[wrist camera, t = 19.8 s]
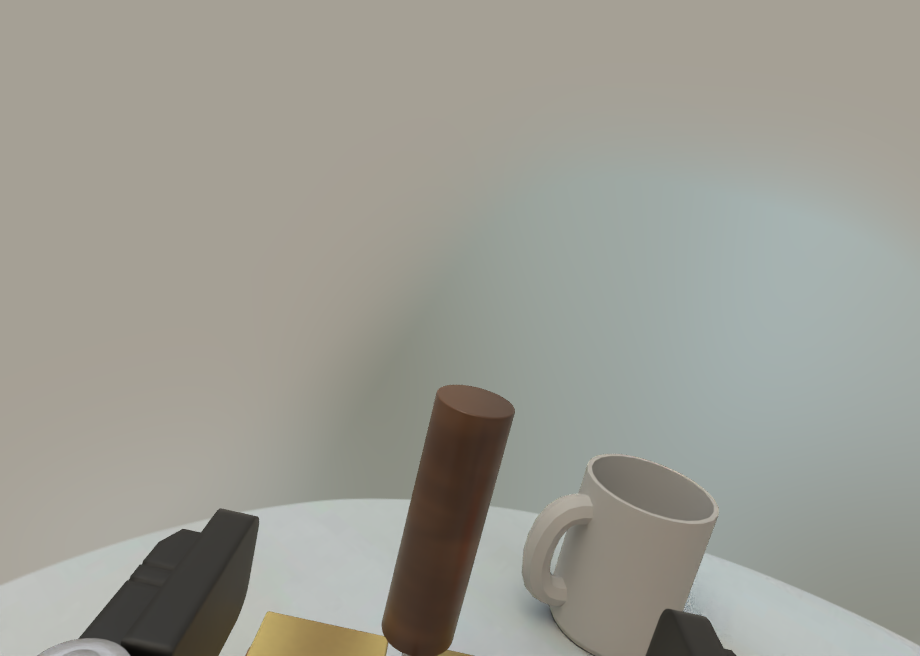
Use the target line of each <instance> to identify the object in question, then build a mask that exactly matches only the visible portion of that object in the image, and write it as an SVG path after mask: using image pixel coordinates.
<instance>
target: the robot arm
mask: <svg viewBox="0 0 920 656" xmlns="http://www.w3.org/2000/svg"><path fill="white" fill-rule="evenodd" d="M258 527H259V517H257V516H253V515H248V514H244V513H239V512H235V511H230V510H225V509H219V510H218V511H217V512H216V513H215V514H214V516H213V517H212V518H211V520H210V521H209V522H208V524H207V525H206V527H205V528H204V529H203V531H202V532H201V533H200V532H195V531H191V530H186V529H182V530H180V531H178V532H176V533H175V534H173V535H171V536H169V537H167V538H166V539H164V540H162V541H160V542H159V543H158V544H157V545H156V546H155V547H154V549H153V550H152V551H151V552H150V553H149V555H148V556H147V557H146V558H145V559H144V561H143V564H142V565H139V567H138V568H137V569H136V570H135V571H134V573H133V574H132V575H131V576H130V579H129V581H128V580H127V581H126V582H125V583H124V585H123V586H122V587H121V588H120V590H119V591H118V592H117V593H116V594H115V596H114V597H113V598H112V599H111V600H110V602H109V603H108V604H107V605H106V606H105V608H104V609H103V610H102V611H101V612H100V614H99V615H98V616H97V617H96V618H95V620H94V621H93V622H92V623H91V624H90V626H89V627H88V628H87V629H86V630H85V632H84V633H83V634H82V635H81V636H80V638H79V639H76V640H70V641H67V642H63V643H60V644H58V645H55V646H53V647H51V648H49V649H47V650H45V651H43V652H42V653H40V654H39V655H38V656H218V655H219V654H220V652H221V650H222V648H223V646H224V644H225V642H226V640H227V638H228V636H229V634H230V632H231V630H232V629H233V627H234V625H235V623H236V621H237V619H238V616H239V614H240V611H241V609H242V606H243V603H244V600H245V597H246V593H247V589H248V584H249V578H250V573H251V567H252V561H253V556H254V550H255V544H256V539H257V533H258ZM646 656H736V655H735V654H734V653H733V651H732V650H728V649H724V648H723V646H722V644H721V642H720V640H719V638H718V636H717V635H716V633H715V631H714V629H713V627H712V625H711V623H710V621H709V620H708V619H707V618H706V617H704V616H700V615H695V614H691V613H686V612H682V611H677V610H673V609H665V610H664V611H663V612H662V614H661V615H660V618H659V620H658V623H657V626H656V628H655V631H654V634H653V637H652V639H651V642H650V645H649V647H648V650H647V653H646Z"/></svg>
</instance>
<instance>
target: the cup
mask: <svg viewBox="0 0 920 656" xmlns="http://www.w3.org/2000/svg"><path fill="white" fill-rule="evenodd" d="M718 515H719V507H718V505H717V503H716V501H715V500H714V498H713V497H712V496H711V495H710V494H709V493H708V492H707V491H706V490H705V489H703V488H702V487H701V486H700V485H698V484H697V483H696V482H694V481H693V480H691V479H689V478H687V477H686V476H684V475H682V474H681V473H679V472H676V471H674V470H672V469H670V468H668V467H666V466H663V465H660V464H657V463H655V462H652V461H649V460H646V459H642V458H638V457H634V456H628V455H622V454H603V455H597V456H596V457H594V458H592V459H590V461H589V463H588V465H587V467H586V471H585V474H584V477H583V480H582V483H581V487H580V490H579V493H578V494H571V495H567V496H563V497H560V498H558V499H556V500H555V501H553V502H552V503H550V504H549V505H547V506H546V507H545V509H544V510H543V511H542V512H541V513H540V515H539V516H538V517H537V518H536V520H535V522H534V524H533V526H532V528H531V530H530V532H529V533H528V537H527V540H526V543H525V547H524V552H523V564H522V576H523V580H524V585H525V587H526V589H527V590H528V591H529V592H530V593H531V595H532V596H533V597H534V598H536V599H538V600H539V601H541V602H543V603H546V604H548V605H549V606H550V609H551V612H552V615H553V617H554V620H555V622H556V623H557V624H558V626H559V627H560V629H561V630H562V632H563V633H565V634H566V635H567V636H568V637H569V638H570V639H571V640H572V641H573V642H574V643H575V644H577V645H578V646H580V647H581V648H583V649H584V650H586V651H587V652H589V653H591V654H593V655H595V656H646V653H647V650H648V647H649V645H650V642H651V639H652V637H653V634H654V631H655V628H656V626H657V623H658V620H659V618H660V615H661V614H662V612H663V611H664V610H665V609H673V610H677V611H682V612H683V609H684V606H685V604H686V601H687V598H688V596H689V593H690V590H691V587H692V585H693V582H694V579H695V577H696V574H697V571H698V569H699V566H700V563H701V561H702V558H703V555H704V553H705V550H706V547H707V545H708V542H709V539H710V537H711V534H712V531H713V529H714V526H715V523H716V520H717V518H718ZM566 531H567V532H566ZM565 532H566V535H565V538H564V542H563V545H562V548H561V551H560V555H559V558H558V561H557V564H556V567H555V571H554V574H551V573H550V565H551V560H552V557H553V553H554V550H555V548H556V546H557V544H558V542H559V540H560V538H561V537H562V536H563V534H564V533H565Z"/></svg>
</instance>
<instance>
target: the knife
mask: <svg viewBox="0 0 920 656" xmlns="http://www.w3.org/2000/svg"><path fill="white" fill-rule="evenodd" d="M514 414H515V409H514V407H513V405H512V404H511V403H510V402H509V401H507V400H506V399H504V398H503V397H501V396H499V395H497V394H495V393H492V392H490V391H487V390H484V389H481V388H477V387H472V386H465V385H447V386H443V387H441V388H440V389H439V390H438V391H437V393H436V398H435V402H434V406H433V410H432V414H431V419H430V423H429V427H428V431H427V436H426V439H425V444H424V448H423V452H422V456H421V461H420V465H419V469H418V473H417V477H416V481H415V486H414V490H413V494H412V498H411V502H410V506H409V511H408V515H407V519H406V523H405V527H404V532H403V536H402V540H401V544H400V548H399V552H398V557H397V561H396V565H395V569H394V573H393V578H392V582H391V586H390V590H389V594H388V599H387V603H386V607H385V611H384V615H383V620H382V631H383V634H384V636H385V638H386V640H387V641H388V642H389V643H390V644H391V645H392V646H393V647H394V648H395V649H397V650H399V651H400V652H402V656H438V655H440V654H442V653H443V652H445V651H446V650H447V649H448V648H449V647H450V645H451V643H452V640H453V637H454V633H455V629H456V626H457V622H458V619H459V615H460V611H461V608H462V604H463V600H464V597H465V593H466V589H467V586H468V582H469V578H470V575H471V571H472V567H473V564H474V560H475V556H476V553H477V549H478V545H479V542H480V538H481V534H482V531H483V527H484V523H485V520H486V516H487V512H488V509H489V505H490V501H491V498H492V494H493V490H494V487H495V483H496V479H497V476H498V472H499V468H500V465H501V461H502V457H503V454H504V450H505V446H506V443H507V439H508V435H509V432H510V428H511V425H512V421H513V417H514Z"/></svg>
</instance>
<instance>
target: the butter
mask: <svg viewBox="0 0 920 656" xmlns="http://www.w3.org/2000/svg"><path fill="white" fill-rule="evenodd" d="M387 647H388V641H387V640H386V638H385V636H380V635H376V634H371V633H367V632H362V631H357V630H353V629H348V628H343V627H339V626H334V625H330V624H325V623H320V622H316V621H311V620H306V619H302V618H297V617H293V616H288V615H283V614H279V613H274V612H270V611H269V612H267V613H266V615H265V617H264V619H263V622H262V624H261V626H260V628H259V630H258V632H257V634H256V637H255V639H254V641H253V643H252V645H251V647H249V649H248V651H247V653H246V655H245V656H386V653H387ZM438 656H473V655H469V654H464V653H459V652H455V651H450V650H446V651H445V652H443V653H442V654H440V655H438Z"/></svg>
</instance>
